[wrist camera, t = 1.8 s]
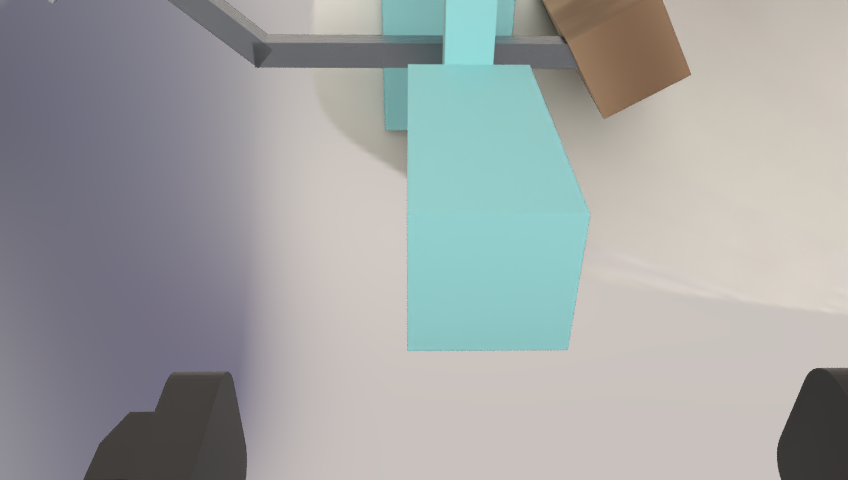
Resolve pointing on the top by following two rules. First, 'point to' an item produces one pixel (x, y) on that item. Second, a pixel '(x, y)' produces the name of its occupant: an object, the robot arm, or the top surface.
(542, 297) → the turquoise frame with handle
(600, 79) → the wood grain block
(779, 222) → the top surface
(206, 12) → the wire
